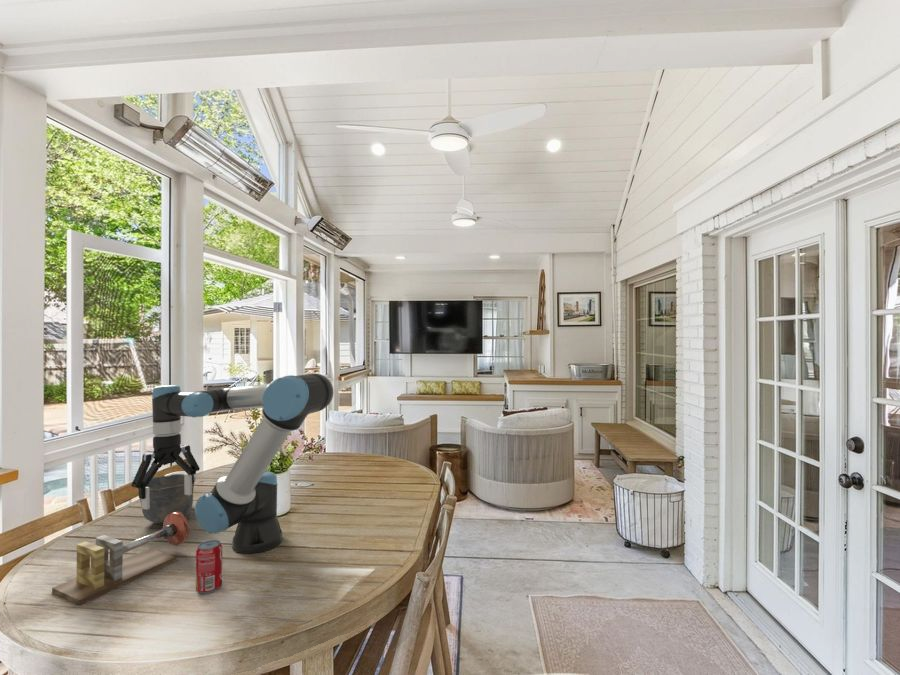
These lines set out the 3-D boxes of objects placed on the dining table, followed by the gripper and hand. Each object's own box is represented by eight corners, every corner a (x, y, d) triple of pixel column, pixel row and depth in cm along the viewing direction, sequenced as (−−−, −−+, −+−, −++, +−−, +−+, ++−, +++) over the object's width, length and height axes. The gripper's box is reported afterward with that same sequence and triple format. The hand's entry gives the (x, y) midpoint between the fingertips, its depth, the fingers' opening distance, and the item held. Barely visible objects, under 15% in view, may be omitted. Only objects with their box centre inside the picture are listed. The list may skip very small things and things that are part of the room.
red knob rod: (188, 546, 140) (189, 514, 140) (129, 572, 124) (129, 536, 124) (168, 540, 144) (168, 509, 144) (108, 564, 129) (108, 529, 129)
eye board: (176, 560, 135) (176, 523, 135) (79, 604, 112) (79, 560, 112) (149, 551, 141) (150, 516, 141) (52, 592, 118) (52, 549, 118)
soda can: (194, 597, 116) (194, 550, 116) (197, 585, 122) (197, 540, 122) (221, 591, 118) (221, 546, 119) (222, 580, 124) (223, 536, 124)
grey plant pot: (151, 536, 152) (151, 492, 152) (127, 524, 161) (127, 483, 161) (203, 518, 167) (204, 478, 167) (179, 509, 176) (179, 471, 176)
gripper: (195, 426, 155) (196, 488, 155) (116, 441, 132) (117, 513, 132) (210, 427, 152) (211, 490, 151) (132, 443, 129) (133, 517, 129)
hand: (167, 501), depth 142 cm, fingers open, 13 cm apart
